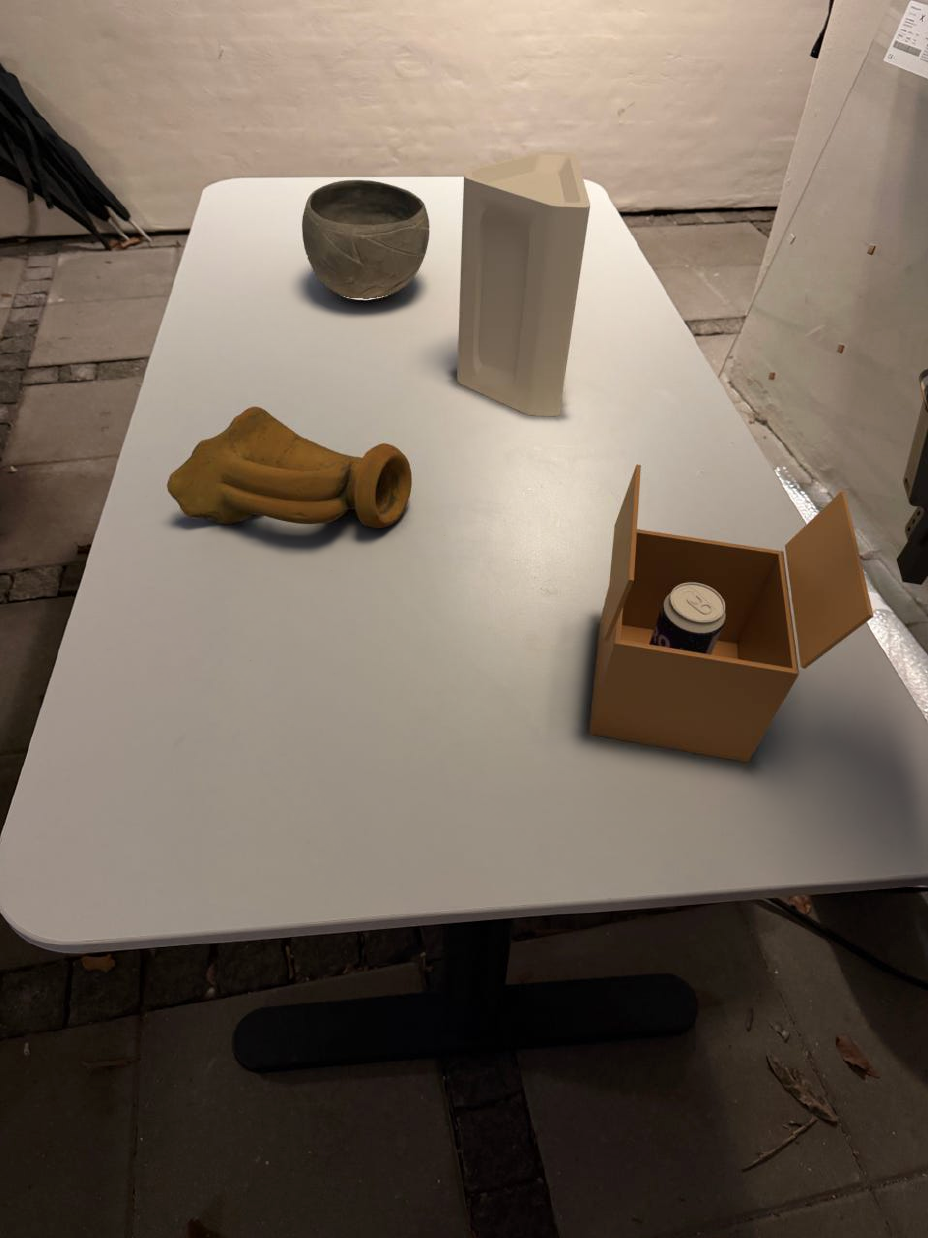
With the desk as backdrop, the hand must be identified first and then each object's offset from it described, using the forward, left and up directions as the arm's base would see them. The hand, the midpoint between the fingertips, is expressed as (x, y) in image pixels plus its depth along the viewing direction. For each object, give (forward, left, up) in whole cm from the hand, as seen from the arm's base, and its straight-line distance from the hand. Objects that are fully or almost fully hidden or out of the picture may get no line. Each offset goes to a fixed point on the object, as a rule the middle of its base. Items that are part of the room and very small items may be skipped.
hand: (909, 571), depth 63 cm
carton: (+15, 0, -19) cm, 24 cm away
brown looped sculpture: (+60, -17, -20) cm, 65 cm away
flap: (+6, 0, -2) cm, 6 cm away
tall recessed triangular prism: (+40, -54, -20) cm, 70 cm away
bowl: (+67, -76, -20) cm, 103 cm away
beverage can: (+15, 0, -19) cm, 24 cm away
